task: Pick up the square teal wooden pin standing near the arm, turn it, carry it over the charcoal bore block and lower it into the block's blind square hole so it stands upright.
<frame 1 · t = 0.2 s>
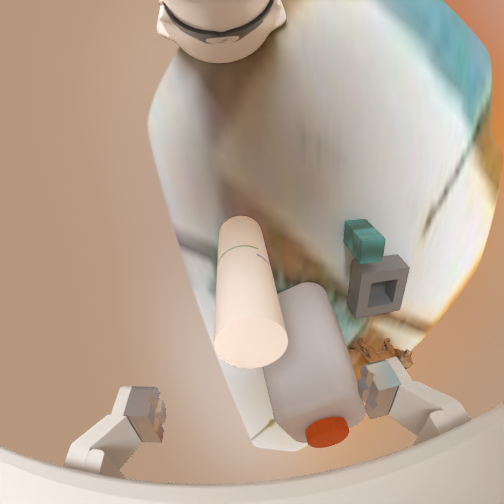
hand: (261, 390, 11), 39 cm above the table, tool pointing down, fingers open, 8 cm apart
lion figurine: (377, 341, 66), on the table
teal pin: (354, 230, 51), on the table
cylindrical container: (240, 235, 51), on the table
bore block: (372, 279, 57), on the table
plastic bottle: (294, 315, 60), on the table
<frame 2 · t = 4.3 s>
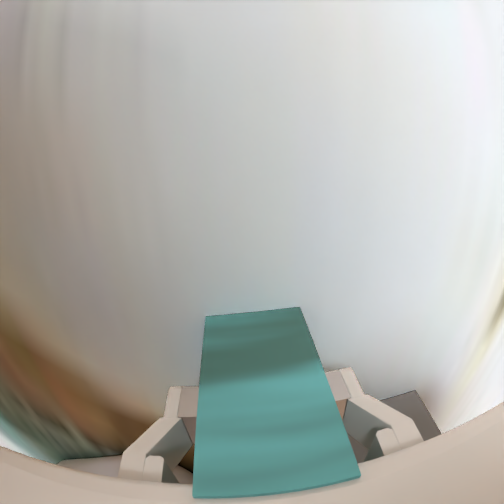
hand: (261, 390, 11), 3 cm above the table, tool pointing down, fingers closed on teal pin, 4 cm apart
teal pin: (256, 348, 13), on the table, touching gripper
bore block: (335, 448, 18), on the table
plastic bottle: (149, 489, 20), on the table
when the fingers open (6 cm above the table, at t = 10.6 s): teal pin drops 2 cm, resting on bore block.
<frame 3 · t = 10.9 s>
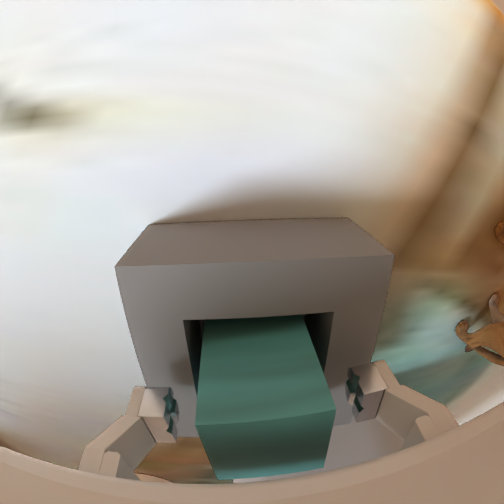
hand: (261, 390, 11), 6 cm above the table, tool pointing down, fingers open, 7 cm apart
lion figurine: (492, 261, 17), on the table
teal pin: (251, 319, 16), point 1 cm above the table, touching bore block
cylindrical container: (150, 484, 25), on the table
bore block: (251, 308, 16), on the table
plastic bottle: (325, 443, 23), on the table
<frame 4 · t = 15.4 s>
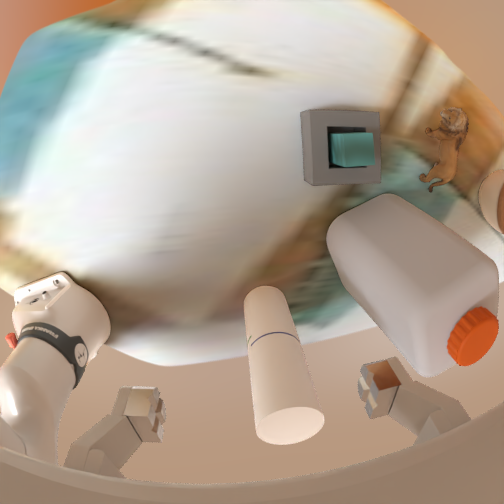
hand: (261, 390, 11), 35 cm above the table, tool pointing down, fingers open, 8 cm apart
lidded bowl: (488, 194, 46), on the table
lion figurine: (429, 146, 42), on the table
teal pin: (337, 146, 40), point 1 cm above the table, touching bore block
cylindrical container: (264, 303, 50), on the table
bore block: (335, 145, 41), on the table
plastic bottle: (371, 242, 48), on the table
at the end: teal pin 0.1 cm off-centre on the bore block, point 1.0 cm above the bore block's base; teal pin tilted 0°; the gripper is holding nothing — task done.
